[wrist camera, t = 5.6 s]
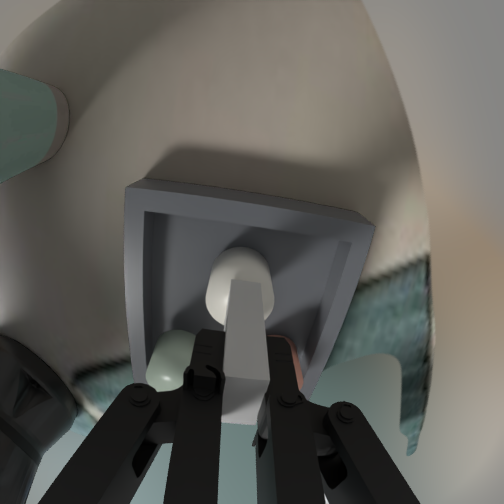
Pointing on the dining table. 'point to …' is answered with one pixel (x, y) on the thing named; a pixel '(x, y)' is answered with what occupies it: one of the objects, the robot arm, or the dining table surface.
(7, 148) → the coffee cup
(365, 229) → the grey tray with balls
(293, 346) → the button coral
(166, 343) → the button sage
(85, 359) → the dining table surface
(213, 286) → the button ivory
